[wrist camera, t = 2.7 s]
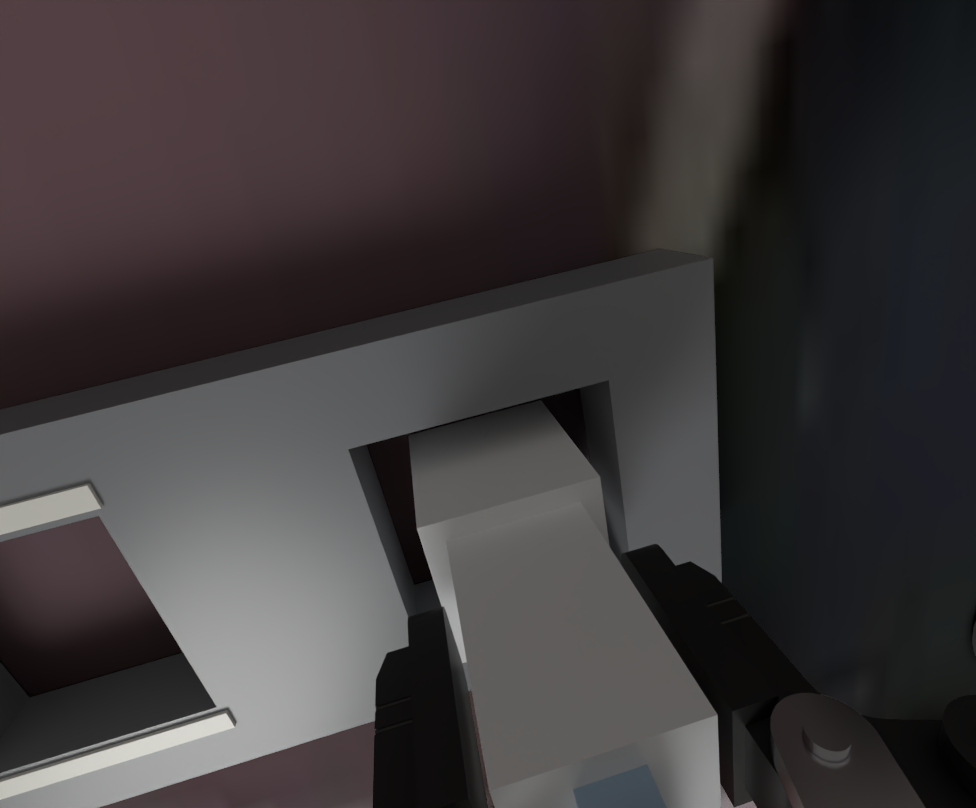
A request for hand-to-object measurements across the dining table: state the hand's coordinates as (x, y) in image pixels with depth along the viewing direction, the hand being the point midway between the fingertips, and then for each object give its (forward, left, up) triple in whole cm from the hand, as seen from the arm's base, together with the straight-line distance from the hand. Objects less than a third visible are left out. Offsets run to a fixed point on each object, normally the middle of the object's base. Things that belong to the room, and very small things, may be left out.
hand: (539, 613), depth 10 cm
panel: (+6, 0, -6) cm, 8 cm away
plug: (0, 0, -6) cm, 6 cm away
